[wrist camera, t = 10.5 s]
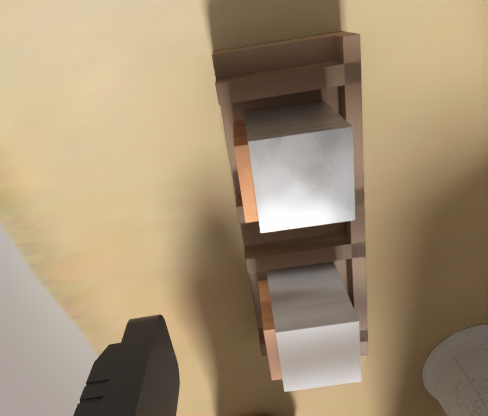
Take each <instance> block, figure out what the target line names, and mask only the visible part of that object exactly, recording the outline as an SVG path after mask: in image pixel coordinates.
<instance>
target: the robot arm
mask: <svg viewBox="0 0 488 416" xmlns="http://www.w3.org/2000/svg"><path fill="white" fill-rule="evenodd" d="M86 384H87V385H86V387H84V390H83V392H82V395H81V398H80V404H78V405H77V408H76V410H75V413H74V416H176V411H177V403H178V395H179V385H180V380H179V368H178V363H177V359H176V356H175V353H174V349H173V346H172V343H171V339H170V336H169V333H168V329H167V326H166V323H165V320H164V318H163V316H162V315H155V316H148V317H142V318H135V319H130V320H129V321H128V323H127V326H126V329H125V332H124V335H123V338H122V341H121V343H117V344H110V345H108V347H107V348H106V349H105V350H104V351H103V353H102V354H101V355H100V356H99V357H98V359H97V360H96V361H95V362H94V364H93V366H92V369H91V372H90V374H89V377H88V380H87V382H86Z"/></svg>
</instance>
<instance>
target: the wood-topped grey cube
mask: <svg viewBox="0 0 488 416" xmlns="http://www.w3.org/2000/svg"><path fill="white" fill-rule="evenodd" d="M243 114H244V120H241V121H234V122H233V136H234V150H235V157H236V163H237V170H238V176H239V183H240V189H241V196H242V202H243V209H244V216H245V222H246V223H249V222H256V221H259V226H260V233H266V232H273V231H280V230H288V229H295V228H302V227H309V226H317V225H324V224H331V223H338V222H346V221H353V220H355V189H354V149H353V126H352V125H351V124H349V123H348V122H347V121H346V120H345V119H344V118H343V117H342V116H341V115H339V114H338V113H337V112H336V111H335V110H334V109H333V108H332V107H331V106H329V105H328V104H327V103H326V102H325V101H324V100H323V99H316V100H309V101H302V102H295V103H288V104H281V105H275V106H268V107H261V108H254V109H247V110H243Z"/></svg>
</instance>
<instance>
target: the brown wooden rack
mask: <svg viewBox="0 0 488 416" xmlns="http://www.w3.org/2000/svg"><path fill="white" fill-rule="evenodd" d="M212 58H213V64H214V70H215V76H216V84H215V85H216V91H217V96H218V102H219V105H221V111H222V117H223V123H224V129H225V134H226V140H227V146H228V152H229V158H230V164H231V170H232V176H233V181H234V187H235V193H236V207H237V213H238V219H239V223H241V228H242V234H243V240H244V246H245V259H246V265H247V271H248V273H249V275H250V281H251V287H252V293H253V299H254V305H255V311H256V316H257V322H258V328H259V338H260V347H261V353H262V356H265V355H268V361H269V367H270V373H271V379H272V380H280V379H282V380H283V386H284V392H287V391H294V390H302V389H309V388H317V387H324V386H332V385H339V384H346V383H354V382H361V360H360V356H364V355H368V331H367V291H366V251H365V211H364V171H363V131H362V91H361V51H360V34H356V33H350V32H343V31H340V32H333V33H327V34H321V35H315V36H308V37H302V38H296V39H290V40H284V41H277V42H271V43H265V44H259V45H252V46H246V47H240V48H234V49H228V50H221V51H215V52H213V54H212ZM316 99H323V100H324V101H325V102H326V103H327V104H328V105H329V106H331V107H332V108H333V109H334V110H335V111H336V112H337V113H338V114H339V115H341V116H342V117H343V118H344V119H345V120H346V121H347V122H348V123H349V124H351V125H352V126H353V149H354V189H355V220H353V221H346V222H338V223H331V224H324V225H317V226H309V227H302V228H295V229H288V230H280V231H273V232H266V233H260V226H259V221H256V222H249V223H246V222H245V216H244V209H243V202H242V196H241V189H240V183H239V176H238V170H237V163H236V157H235V150H234V136H233V122H234V121H241V120H244V114H243V110H247V109H254V108H261V107H268V106H275V105H281V104H288V103H295V102H302V101H309V100H316Z"/></svg>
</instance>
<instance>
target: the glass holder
mask: <svg viewBox="0 0 488 416" xmlns="http://www.w3.org/2000/svg"><path fill="white" fill-rule="evenodd" d="M422 380H423V384H424V386H425V389H426V390H427V391H428V393H429V394H430V395H431V396H432V397H434V398H435V399H436V400H437V401H439V403H440V404H441V406H442V408H443V410H444V412H445V414H446V415H447V416H488V324H485V325H477V326H473V327H469V328H466V329H464V330H461V331H458V332H456V333H455V334H453V335H451V336H449V337H448V338H446V339H445V340H443V341H442V342H441V343H440V344H438V345H437V346H436V347H435V348H434V349H433V351H432V352H431V353H430V354H429V356H428V358H427V359H426V361H425V363H424V366H423V370H422Z"/></svg>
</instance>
